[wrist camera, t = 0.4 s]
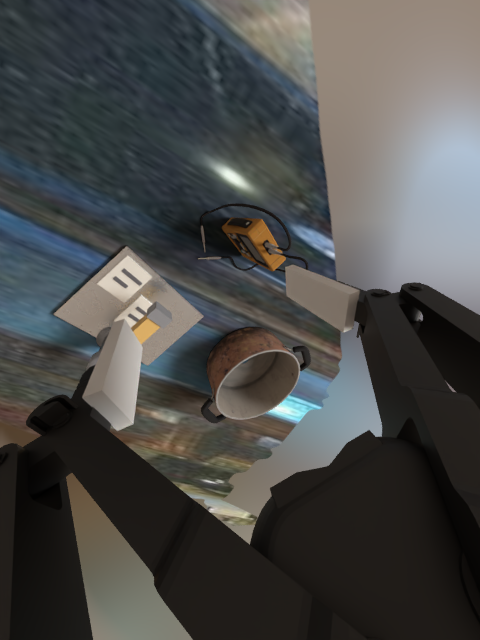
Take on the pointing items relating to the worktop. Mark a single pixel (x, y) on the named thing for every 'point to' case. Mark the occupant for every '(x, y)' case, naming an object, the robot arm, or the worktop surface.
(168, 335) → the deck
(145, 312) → the label
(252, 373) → the cooking pot
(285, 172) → the worktop surface
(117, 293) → the label
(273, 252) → the multimeter
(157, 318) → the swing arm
